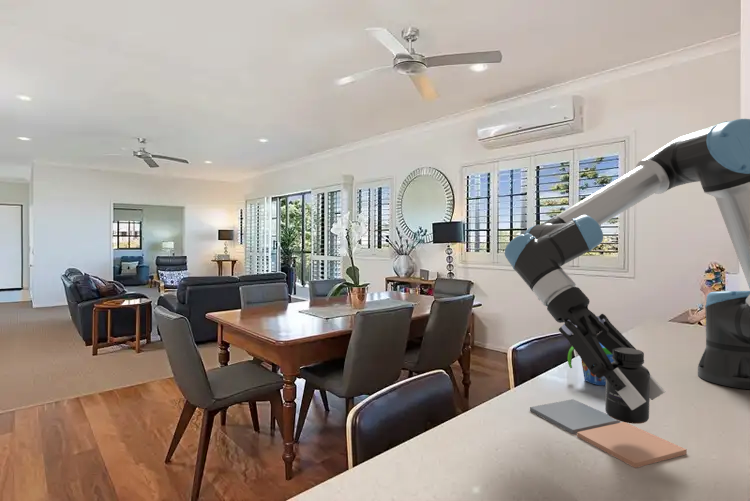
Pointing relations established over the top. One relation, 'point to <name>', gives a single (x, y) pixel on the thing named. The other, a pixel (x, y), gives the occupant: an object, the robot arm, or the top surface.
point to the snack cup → (587, 374)
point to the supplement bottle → (638, 377)
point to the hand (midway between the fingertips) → (649, 400)
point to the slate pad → (573, 415)
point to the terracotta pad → (631, 444)
